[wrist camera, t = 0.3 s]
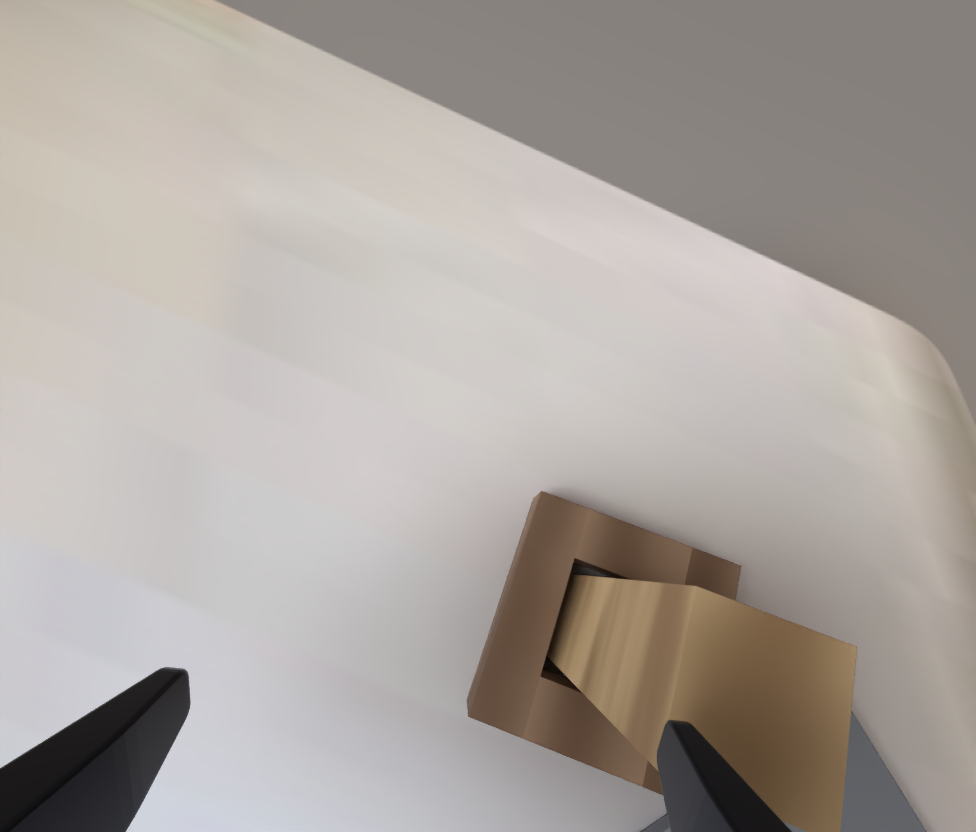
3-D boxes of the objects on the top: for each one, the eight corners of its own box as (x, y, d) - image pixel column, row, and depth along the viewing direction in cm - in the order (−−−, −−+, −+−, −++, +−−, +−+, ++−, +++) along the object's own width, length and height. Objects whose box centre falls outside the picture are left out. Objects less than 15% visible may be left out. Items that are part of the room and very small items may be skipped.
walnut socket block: (713, 565, 24) (741, 565, 22) (671, 781, 21) (698, 809, 19) (533, 498, 25) (541, 491, 22) (467, 699, 21) (468, 716, 19)
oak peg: (644, 602, 23) (857, 646, 11) (625, 686, 22) (839, 844, 10) (570, 573, 23) (695, 585, 11) (546, 655, 22) (658, 771, 10)
